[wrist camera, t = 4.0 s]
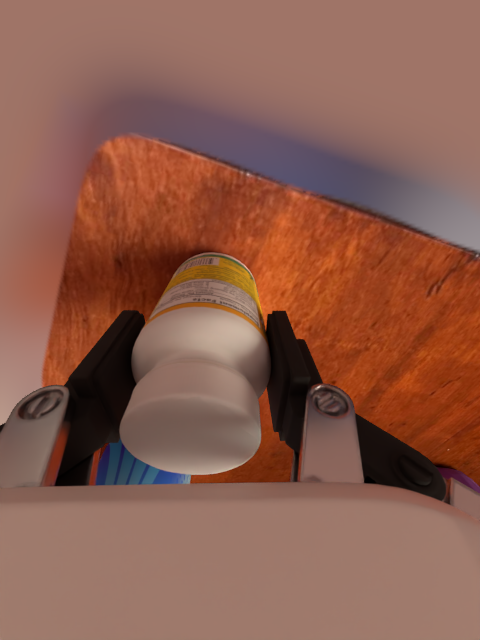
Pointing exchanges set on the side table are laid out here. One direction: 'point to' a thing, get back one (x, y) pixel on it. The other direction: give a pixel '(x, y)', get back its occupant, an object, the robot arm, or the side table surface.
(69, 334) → the side table surface
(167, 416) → the supplement bottle
